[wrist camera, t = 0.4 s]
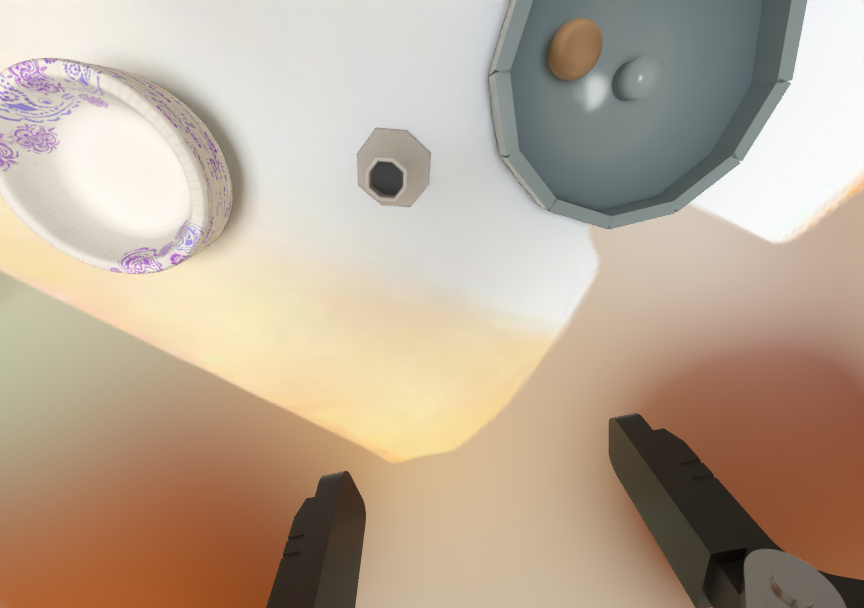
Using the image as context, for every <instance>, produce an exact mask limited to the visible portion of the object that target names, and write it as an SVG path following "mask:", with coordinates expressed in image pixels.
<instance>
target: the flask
mask: <svg viewBox="0 0 864 608" xmlns="http://www.w3.org/2000/svg"><path fill="white" fill-rule="evenodd" d="M430 154H431V153H430V152H429V151H428V150H427V149H426V148H425V147H424V146H423V145H422V144H421V143H420V142H419V141H418V140H417V139H416V138H415V137H414V136H412V135H411V134H410V133H409V132H408V131H407V130H396V129H384V128H375V130H374V131H373V133H372V134H371V135H370V137H369V138H368V140H367V141H366V142H365V144H364V145H363V147H362V148H361V149H360V151H359V152H358V154H357V158H358V186H359V187H360V188H362V189H363V190H364V191H365V192H366V193H368V194H369V195H370V196H371V197H372V198H374V199H375V200H376V201H377V202H378V203H380V204H381V205H387V206H402V207H410V206H411V205H412V204H413V203H414V202H415V200H416V199H417V198H418V197H419V195H420V194H421V193H422V192H423V191H424V189H425V188H426V187H427V186H428V184H429V170H430Z"/></svg>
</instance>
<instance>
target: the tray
mask: <svg viewBox="0 0 864 608" xmlns="http://www.w3.org/2000/svg"><path fill="white" fill-rule="evenodd" d="M806 4H807V0H511V3H510V7H509V10H508V12H507V15H506V18H505V20H504V23H503V26H502V29H501V31H500V34H499V38H498V42H497V46H496V50H495V54H494V59H493V63H492V66H491V69H490V73H489V75H490V77H489V85H490V102H491V113H492V121H493V126H494V131H495V136H496V139H497V142H498V148H499V155H502V156H501V158H502V160H503V161H504V162H505V163H506V165H507V166H508V168H509V169H510V171H511V172H512V174H513V175H514V176H515V178H516V179H517V181H518V182H519V183H520V184H521V185H522V186H523V187H524V188H525V190H526V191H527V192H528V193H529V194H530V195H531V196H532V197H533V199H534V200H535V201H536V202H537V204H538V205H539V206H541V207H542V208H544V209H546V210H548V211H550V212H553V213H556V214H560V215H563V216H566V217H569V218H573V219H576V220H579V221H582V222H586V223H589V224H592V225H596V226H599V227H602V228H605V229H612V228H616V227H621V226H624V225H629V224H633V223H636V222H641V221H645V220H649V219H653V218H657V217H661V216H665V215H669V214H673V213H675V212H678V211H679V210H680V209H682V208H683V207H684V206H685V205H687V204H688V203H689V202H691V201H692V200H693V199H695V198H696V197H697V196H698V195H700V194H701V193H702V192H704V191H705V190H706V189H708V188H709V187H710V186H711V185H713V184H714V183H715V182H717V181H718V180H719V179H720V178H722V177H723V176H724V175H726V174H727V173H728V172H729V171H731V170H732V169H733V168H735V167H736V166H737V165H739V164H740V162H739V161H742V160H743V159H744V157H745V156H746V154H747V152H748V151H749V149H750V148H751V146H752V144H753V143H754V141H755V140H756V138H757V136H758V135H759V133H760V132H761V130H762V128H763V127H764V125H765V124H766V122H767V120H768V119H769V117H770V116H771V114H772V112H773V111H774V109H775V108H776V106H777V104H778V103H779V101H780V100H781V98H782V96H783V95H784V93H785V92H786V90H787V88H788V87H789V85H790V84H791V83H789V82H787V81H790V80H792V78H793V72H794V67H795V62H796V57H797V51H798V46H799V41H800V36H801V30H802V25H803V20H804V15H805V9H806ZM575 18H587V19H590V20H592V21H593V22H595V23H596V24H597V26H598V27H599V29H600V31H601V34H602V50H601V54H600V57H599V59H598V61H597V62H596V64H595V66H594V67H593V68H592V69H591V70H590V71H589V72H588V73H587V74H586V75H584V76H583V77H581V78H579V79H576V80H572V81H566V80H562V79H559V78H558V77H556V76H555V75H554V74H553V72H552V71H551V69H550V67H549V64H548V49H549V45H550V42H551V40H552V38H553V36H554V34H555V33H556V31H557V30H558V29H559V28H560V27H561V26H562V25H563V24H565V23H566V22H568V21H570V20H572V19H575Z"/></svg>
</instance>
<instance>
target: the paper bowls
mask: <svg viewBox="0 0 864 608" xmlns="http://www.w3.org/2000/svg"><path fill="white" fill-rule="evenodd" d="M232 190H233V187H232V182H231V178H230V173H229V169H228V166H227V164H226V161H225V158H224V156H223V153H222V151H221V149H220V147H219V145H218V143H217V142H216V140H215V138H214V136H213V135H212V133H211V132H210V130H209V129H208V127H207V126H206V125H205V124H204V123H203V122H202V120H201V119H200V118H199V117H198V116H197V115H196V114H195V113H194V112H193V111H192V110H191V109H190V108H189V107H188V106H186V105H185V104H184V103H183V102H182V101H180V100H179V99H178V98H177V97H175V96H173V95H172V94H171V93H169V92H168V91H166V90H165V89H163V88H161V87H160V86H158V85H156V84H154V83H152V82H150V81H148V80H146V79H144V78H142V77H139V76H136V75H134V74H130V73H128V72H124V71H121V70H117V69H112V68H108V67H103V66H99V65H93V64H87V63H83V62H79V61H74V60H69V59H60V58H41V59H32V60H28V61H23V62H21V63H17V64H14V65H12V66H11V67H9V68H7V69H5V70H4V71H2V72H1V73H0V195H1V196H2V198H3V199H4V200H5V202H6V203H7V204H8V206H9V207H10V208H11V210H12V211H13V212H14V213H15V214H16V215H17V216H18V217H19V218H20V219H21V220H22V221H23V222H24V223H25V224H26V225H27V226H28V227H29V228H30V229H31V230H32V231H34V232H35V233H36V234H37V235H38V236H40V237H41V238H42V239H44V240H45V241H46V242H48V243H49V244H50V245H52V246H53V247H55V248H56V249H58V250H59V251H61V252H63V253H65V254H67V255H69V256H71V257H73V258H75V259H77V260H79V261H81V262H84V263H86V264H89V265H92V266H94V267H98V268H101V269H104V270H109V271H112V272H119V273H128V274H148V273H154V272H160V271H163V270H168V269H170V268H172V267H174V266H176V265H178V264H180V263H181V262H183V261H185V260H187V259H189V258H190V257H192V256H194V255H196V254H198V253H199V252H201V251H202V250H203V249H205V248H206V247H208V246H209V245H210V244H211V243H213V242H214V241H215V239H217V238H218V236H219V235H220V234H221V232H222V231H223V229H224V228H225V226H226V225H227V222H228V219H229V217H230V213H231V209H232V204H233V202H232V201H233V191H232Z"/></svg>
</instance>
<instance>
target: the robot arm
mask: <svg viewBox="0 0 864 608" xmlns="http://www.w3.org/2000/svg"><path fill="white" fill-rule="evenodd" d="M609 457H610V461H611V464H612V466H613V469H614V471H615V473H616V475H617V476H618V478H619V480H620V482H621V483H622V485H623V486H624V488H625V490H626V491H627V493H628V495H629V497H630V498H631V500H632V502H633V503H634V505H635V507H636V508H637V510H638V512H639V513H640V515H641V517H642V518H643V520H644V522H645V523H646V525H647V527H648V529H649V530H650V532H651V534H652V535H653V537H654V539H655V540H656V542H657V544H658V545H659V547H660V549H661V550H662V552H663V554H664V555H665V557H666V559H667V560H668V562H669V564H670V565H671V567H672V569H673V570H674V572H675V574H676V575H677V577H678V579H679V581H680V582H681V584H682V586H683V587H684V589H685V591H686V592H687V594H688V595H689V597H690V599H691V601H692V602H693V604H694V606H695V607H696V608H708V607H713V608H864V580H859V579H853V578H847V577H841V576H836V575H831V574H828V573H824V572H822V571H819V570H816V569H815V568H813V567H812V566H810V565H809V564H807V563H806V562H804V561H802V560H800V559H799V558H797V557H795V556H793V555H790V554H788V553H786V552H785V551H783V550H782V549H781V548H780V547H778V546H777V545H776V544H775V543H774V542H773V541H772V540H771V539H770V538H769V537H768V536H767V535H766V533H765V532H764V531H763V530H762V529H761V528H760V527H759V526H758V524H757V523H756V522H755V521H754V520H753V519H752V518H751V517H750V515H749V514H748V513H747V512H746V511H745V510H744V509H743V507H742V506H741V505H740V504H739V503H738V502H737V501H736V500H735V498H734V497H733V496H732V495H731V494H730V493H729V492H728V491H727V489H726V488H725V487H724V486H723V485H722V484H721V483H720V481H719V480H718V479H717V478H715V477H714V476H713V473H712V472H711V471H710V470H709V469H708V468H707V467H706V466H705V465H704V463H701V461H700V459H699V458H698V456H697V455H696V454H695V453H694V452H693V451H692V450H691V449H690V447H689V446H688V445H687V444H686V443H685V442H684V441H683V440H681V439H679V438H678V437H676V436H675V435H673V434H672V433H670V432H669V431H667V430H666V429H658V430H652V429H651V427H650V426H649V425H648V424H647V422H646V421H645V420H644V418H643V417H642V416H641V415H639V414H637V413H634V414H629V415H624V416H619V417H615V418H610V420H609ZM365 523H366V511H365V505H364V501H363V499H362V497H361V495H360V493H359V491H358V489H357V487H356V485H355V483H354V481H353V479H352V477H351V475H350V474H349V472H348V471H343V472H339V473H334V474H328V475H324V476H322V477H321V479H320V481H319V484H318V487H317V491H316V495H315V497H312V498H307V499H306V500H305V502H304V503H303V505H302V506H301V508H300V509H299V511H298V512H297V514H296V516H295V517H294V520H293V523H292V527H291V530H290V533H289V536H288V538H289V540H288V541H287V543H286V546H285V549H284V552H283V559H281V562H280V565H279V569H278V572H277V575H276V578H275V581H274V584H273V588H272V591H271V594H270V597H269V601H268V604H267V607H266V608H355V603H356V595H357V586H358V579H359V571H360V563H361V554H362V547H363V539H364V531H365Z"/></svg>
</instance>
